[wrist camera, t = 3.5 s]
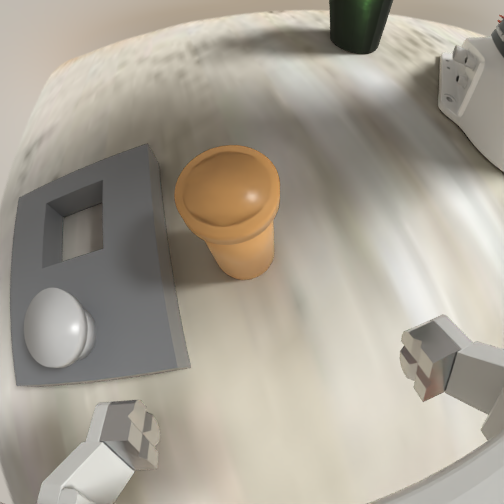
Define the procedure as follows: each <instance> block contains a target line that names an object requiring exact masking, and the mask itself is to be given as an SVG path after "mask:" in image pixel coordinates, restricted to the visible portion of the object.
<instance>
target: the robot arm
mask: <svg viewBox="0 0 504 504" xmlns="http://www.w3.org/2000/svg"><path fill="white" fill-rule="evenodd" d="M499 16H500V17H502V18H503V20H502V21H500V20H498V22H499V23H500V24H498V25H497V26H496V29H495V30H494V31H493V33H492V34H491V36H488V37H476V38H467V39H466V40H465V41H464V43H463V45H462V47H460V46H458V45H456V46H455V48H454V51H453V53H447V52H443V53H442V54H441V56H440V74H439V95H438V107H439V109H440V110H441V111H442V112H443V113H444V114H445V115H446V116H447V117H449V118H450V119H451V120H452V121H454V122H455V123H456V124H457V125H458V126H459V127H460V128H461V129H462V130H463V131H464V133H465V134H466V135H467V137H468V138H469V139H470V141H471V142H472V143H473V144H474V145H475V147H476V148H477V149H478V150H479V151H480V152H481V153H482V154H483V155H484V156H485V157H486V158H487V159H488V160H489V161H490V162H491V163H493V164H494V165H495V166H496V167H498V168H499V169H500V170H502V171H503V172H504V17H503V16H502V15H499ZM401 342H402V343H403V344H404V347H403V348H402V350H401V351H400V363H401V367H402V370H403V372H404V374H405V375H406V377H407V378H408V379H411V380H413V381H415V382H414V389H415V391H416V392H417V394H418V395H419V397H420V398H421V400H422V401H423V402H424V401H426V400H428V399H430V398H433V397H435V396H437V395H439V394H441V393H443V392H445V393H447V394H448V395H450V396H452V397H454V398H456V399H458V400H460V401H462V402H464V403H466V404H468V405H470V406H472V407H474V408H476V409H478V410H480V411H482V412H484V413H486V414H488V417H487V418H486V420H485V422H484V424H483V425H482V428H481V431H482V433H483V434H484V436H485V437H486V439H487V440H488V441H487V442H485V443H484V444H482V445H481V446H479V447H478V448H476V449H475V450H473V451H472V452H470V453H469V454H467V455H465V456H464V457H462V458H461V459H459V460H457V461H456V462H454V463H452V464H450V465H449V466H447V467H445V468H443V469H442V470H440V471H438V472H436V473H434V474H432V475H430V476H429V477H427V478H425V479H423V480H421V481H419V482H417V483H414V484H412V485H410V486H408V487H406V488H404V489H402V490H399V491H397V492H395V493H392V494H390V495H388V496H385V497H383V498H380V499H378V500H375V501H372V502H370V503H367V504H504V349H501V348H498V347H494V346H491V345H488V344H484V343H481V342H478V341H476V342H474V343H473V342H472V341H471V340H470V339H469V338H468V337H467V336H466V335H465V334H464V333H463V332H462V331H461V330H460V329H459V328H458V327H457V326H456V325H455V324H454V323H453V322H452V321H451V320H450V319H449V318H448V317H447V316H446V315H440V316H438V317H436V318H434V319H432V320H430V321H427V322H425V323H422V324H420V325H418V326H415V327H413V328H411V329H408V330H406V331H404V332H403V334H402V339H401ZM159 441H160V429H159V425H158V422H157V420H156V419H155V417H154V416H153V415H152V414H150V413H148V412H146V405H145V404H144V403H143V402H142V400H130V401H117V402H104V403H98V404H97V405H96V407H95V410H94V414H93V417H92V421H91V424H90V427H89V431H88V435H87V438H86V442H81V443H80V444H79V445H78V446H77V447H76V449H75V450H74V451H73V452H72V453H71V454H70V455H69V456H68V457H67V458H66V459H65V460H64V461H63V462H62V463H61V464H60V465H59V466H58V467H57V468H56V469H55V470H54V471H53V472H52V473H51V474H50V475H49V476H48V477H47V478H46V479H45V480H44V481H43V482H42V484H41V488H40V492H39V496H38V500H37V504H113V503H114V502H115V500H116V499H117V497H118V496H119V494H120V493H121V491H122V490H123V488H124V487H125V485H126V484H127V482H128V481H129V479H130V478H131V476H132V475H133V473H134V470H153V469H157V467H158V456H159V452H158V451H157V449H156V448H155V446H156V445H157V444H158V443H159ZM0 504H4V503H2V502H0Z"/></svg>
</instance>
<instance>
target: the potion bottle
mask: <svg viewBox="0 0 504 504" xmlns="http://www.w3.org/2000/svg"><path fill="white" fill-rule="evenodd" d="M392 2H393V0H329V4H330V39H331V40H332V41H333V42H334V44H335V45H337V46H338V47H340V48H341V49H344V50H347V51H349V52H354V53H359V54H363V53H370V52H373V51H375V50H376V49H377V48H378V45H379V42H380V39H381V36H382V33H383V30H384V27H385V24H386V21H387V18H388V15H389V12H390V8H391V5H392Z"/></svg>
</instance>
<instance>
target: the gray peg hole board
mask: <svg viewBox="0 0 504 504" xmlns="http://www.w3.org/2000/svg"><path fill="white" fill-rule="evenodd" d="M102 202H103V249H100V250H97V251H94V252H91V253H88V254H85V255H81V256H78V257H75V258H72V259H69V260H66V261H63V262H62V237H63V217H65V216H68V215H71V214H73V213H76V212H78V211H81V210H84V209H86V208H89V207H91V206H94V205H97V204H100V203H102ZM10 315H11V337H12V350H13V361H14V370H15V377H16V385H17V386H33V387H41V386H57V385H70V384H81V383H91V382H100V381H108V380H116V379H124V378H131V377H138V376H145V375H151V374H157V373H163V372H169V371H175V370H180V369H186V368H191V365H190V361H189V356H188V352H187V347H186V342H185V337H184V333H183V328H182V322H181V317H180V312H179V307H178V301H177V296H176V290H175V284H174V278H173V272H172V266H171V259H170V253H169V246H168V239H167V231H166V224H165V216H164V208H163V199H162V190H161V181H160V171H159V163H158V161H157V159H156V157H155V156H154V154H153V152H152V150H151V148H150V147H149V145H148V144H145V145H142V146H139V147H136V148H133V149H130V150H128V151H125V152H122V153H119V154H117V155H114V156H111V157H109V158H106V159H104V160H101V161H99V162H96V163H94V164H91V165H89V166H86V167H84V168H82V169H79V170H77V171H75V172H72V173H70V174H68V175H65V176H63V177H61V178H59V179H57V180H54V181H52V182H50V183H48V184H46V185H44V186H42V187H40V188H38V189H36V190H34V191H32V192H30V193H28V194H26V195H24V196H22V197H20V198H19V201H18V207H17V214H16V221H15V229H14V238H13V249H12V262H11V285H10Z"/></svg>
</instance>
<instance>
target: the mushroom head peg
mask: <svg viewBox="0 0 504 504" xmlns="http://www.w3.org/2000/svg"><path fill="white" fill-rule="evenodd" d="M174 196H175V203H176V207H177V209H178V212H179V213H180V215H181V217H182V218H183V220H184V221H185V223H186V225H187V226H188V228H189V229H190V230H191V231H192V232H193V233H194V234H195V235H196V236H198V237H199V238H201V239H203V240H204V241H205V242H206V244H207V246H208V248H209V249H210V251H211V253H212V255H213V256H214V258H215V260H216V261H217V263H218V265H219V266H220V268H221V269H222V270H223V272H225V273H226V274H227V275H229V276H230V277H233V278H236V279H240V280H247V279H253V278H256V277H258V276H260V275H261V274H263V273H264V272H265V271H266V270H267V269H268V268H269V266H270V265H271V263H272V261H273V258H274V226H273V220H274V218H275V216H276V214H277V212H278V209H279V204H280V180H279V176H278V172H277V170H276V168H275V166H274V165H273V163H272V162H271V161H270V160H269V159H268V158H267V157H266V156H265V155H263V154H262V153H260V152H259V151H257V150H254V149H252V148H249V147H245V146H239V145H226V146H220V147H215V148H212V149H209V150H207V151H205V152H203V153H201V154H199V155H198V156H196V157H195V158H194V159H192V160H191V161H190V162H189V163H188V164H187V165H186V166H185V168H184V169H183V170H182V172H181V174H180V175H179V177H178V180H177V183H176V186H175V194H174Z"/></svg>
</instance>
